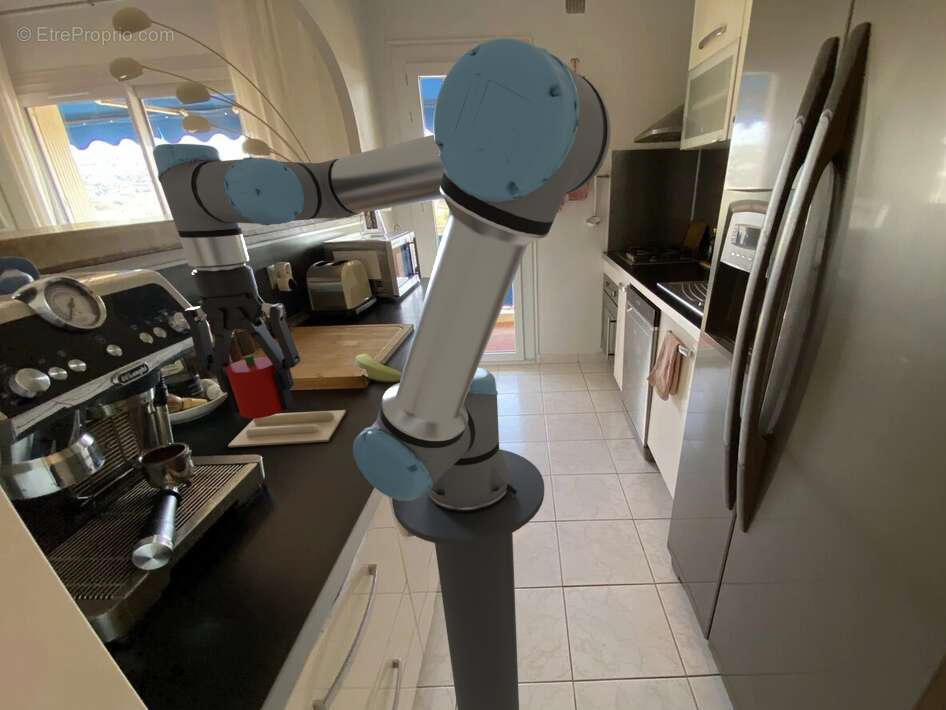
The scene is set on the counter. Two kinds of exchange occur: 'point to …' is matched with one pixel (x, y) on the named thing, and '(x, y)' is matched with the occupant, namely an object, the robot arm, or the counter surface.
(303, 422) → the cream ridged board
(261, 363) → the pepper
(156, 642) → the counter surface
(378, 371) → the banana
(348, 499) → the counter surface
